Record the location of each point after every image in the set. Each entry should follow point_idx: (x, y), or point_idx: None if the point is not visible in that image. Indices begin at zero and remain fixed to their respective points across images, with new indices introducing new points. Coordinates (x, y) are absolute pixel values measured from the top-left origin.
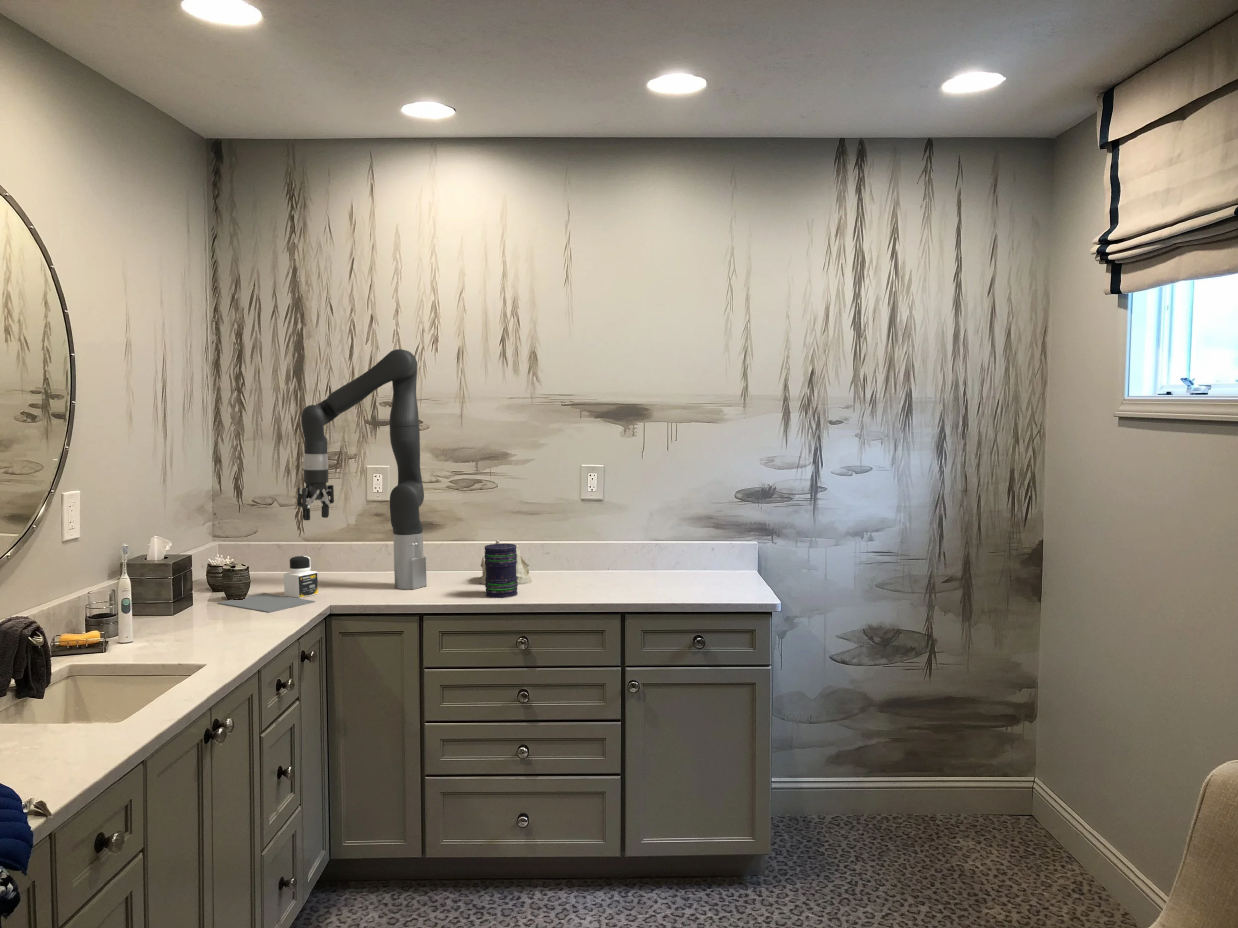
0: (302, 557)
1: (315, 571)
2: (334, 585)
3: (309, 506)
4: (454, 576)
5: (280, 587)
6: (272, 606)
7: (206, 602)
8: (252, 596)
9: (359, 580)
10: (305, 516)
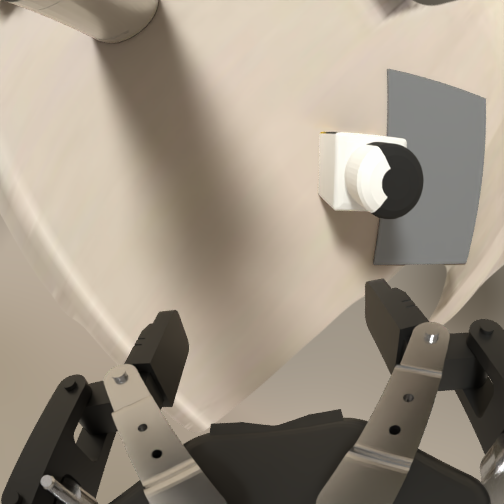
0: (401, 162)
1: (341, 137)
2: (208, 191)
3: (426, 332)
4: (6, 52)
5: (300, 294)
6: (461, 125)
7: (459, 290)
8: (410, 254)
9: (125, 189)
10: (407, 300)
